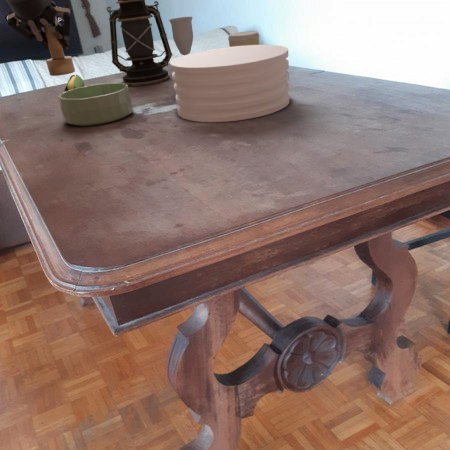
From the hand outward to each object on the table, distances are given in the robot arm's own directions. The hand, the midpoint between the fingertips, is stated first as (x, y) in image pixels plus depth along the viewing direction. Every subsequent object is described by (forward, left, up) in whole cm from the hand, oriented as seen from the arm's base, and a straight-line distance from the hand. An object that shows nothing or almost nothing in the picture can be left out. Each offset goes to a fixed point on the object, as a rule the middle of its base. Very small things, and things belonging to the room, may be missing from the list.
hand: (58, 47), depth 105 cm
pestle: (0, -2, -5) cm, 5 cm away
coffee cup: (+48, +35, -18) cm, 62 cm away
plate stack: (+38, +1, -18) cm, 42 cm away
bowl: (+4, +10, -18) cm, 21 cm away
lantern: (+17, +53, -18) cm, 58 cm away
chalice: (+30, +33, -18) cm, 48 cm away
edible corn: (-6, +47, -18) cm, 50 cm away
